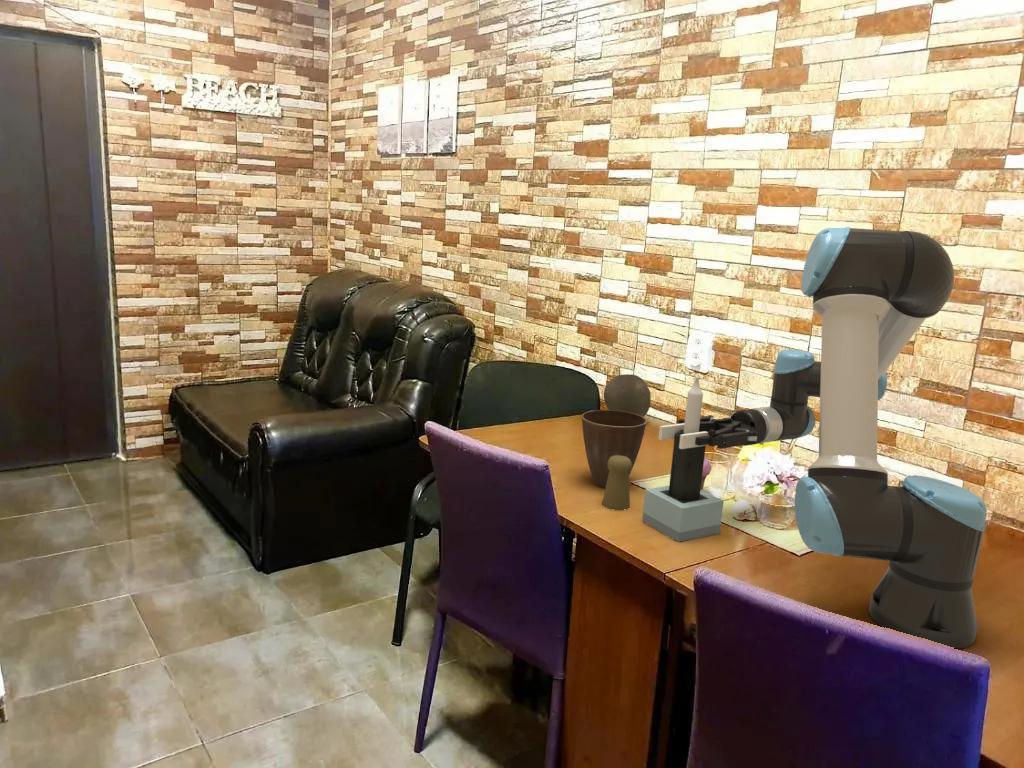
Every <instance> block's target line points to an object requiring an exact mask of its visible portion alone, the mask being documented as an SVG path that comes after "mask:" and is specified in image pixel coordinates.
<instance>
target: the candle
mask: <svg viewBox="0 0 1024 768" xmlns="http://www.w3.org/2000/svg"><path fill="white" fill-rule="evenodd" d="M686 397H687V399H686V407H685V413H684V414H685V415H684V416H685V417H684V419H685V423H684V430H680V431H679V433H676V434H675V437H674V439H673V447H672V448H673V449H672V455H671V456H672V458H671V469H670V476H669V485H668V486H669V493H668V494H669V495H671V496H673V497H675V498H677V499H678V500H679V501H692V500H698V499H700V490H701V482H702V473H703V465H704V456H705V457H706V455H705V454H706V446H700V447H693V448H686V449H680V448H679V443H680V435H681V434H689V433H696V432H699V425H700V417H702V416H701V415H702V409H703V408H702V406H703V397H704V392H703V391H702V389H701V385H700V376H698V375H696V376H695V377H694V382H693V383H692V387H690V389H689V390H688V391H687V396H686Z"/></svg>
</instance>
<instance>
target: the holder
mask: <svg viewBox="0 0 1024 768" xmlns="http://www.w3.org/2000/svg"><path fill="white" fill-rule="evenodd" d="M668 493H669V485H664V486H657V487H651V488H646V489H644V499H643V511H642V520H641V522H642V521H644V522H645V523H644V522H643V523H644V524H646V523H647V524H646V525H648V524H649V525H650V527H651V526H652V527H651V528H653V527H654V528H653V529H655V530H656V529H657V530H656V531H658V530H659V532H660V531H661V532H662V533H661V532H660V533H661V534H663V533H664V534H663V535H665V534H666V535H665V536H667V537H668V536H669V538H670V537H671V538H670V539H672V538H673V539H672V540H673V541H675V540H676V541H675V542H677V541H678V542H677V543H681V542H680V541H682V542H687V541H691V540H696V539H701V538H704V537H709V536H714V535H719V534H720V533H721V527H722V526H721V525H722V517H723V509H724V503H725V502H724V500H723V499H721V498H719V497H717V496H716V495H715V496H714V495H713V494H710V493H708V492H706V491H704V490H700V499H698V500H692V501H679V500H678V499H677V498H675V497H673V496H671V495H669V494H668ZM649 525H648V526H649ZM686 540H687V541H686Z"/></svg>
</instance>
